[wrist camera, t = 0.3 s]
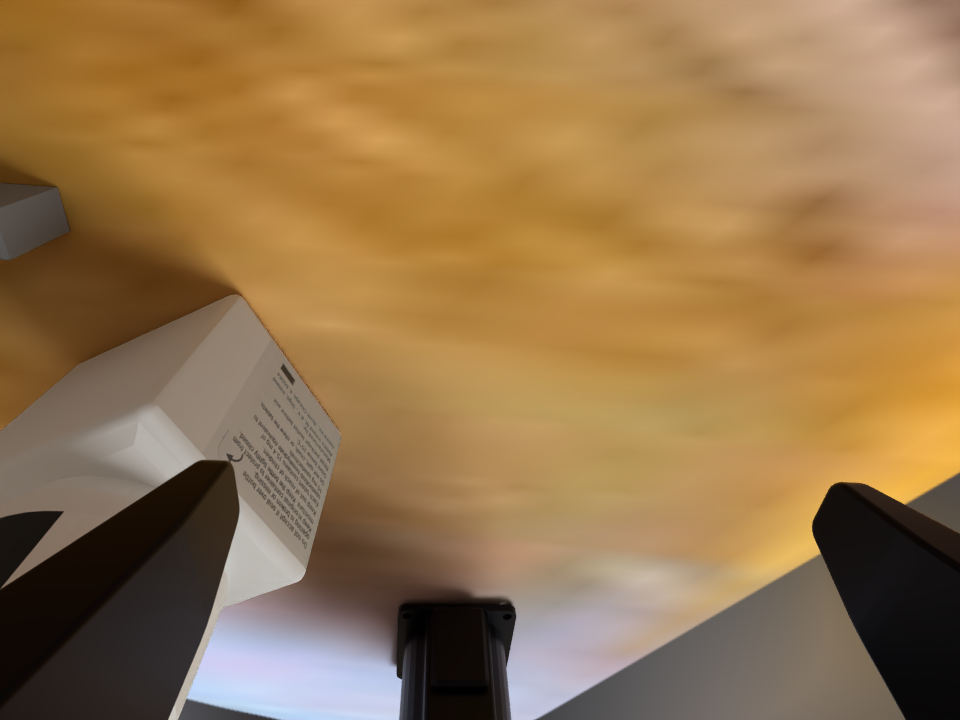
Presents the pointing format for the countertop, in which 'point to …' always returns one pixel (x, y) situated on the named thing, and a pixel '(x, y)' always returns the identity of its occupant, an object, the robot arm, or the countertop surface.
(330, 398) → the countertop surface
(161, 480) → the container
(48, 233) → the display bay
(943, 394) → the countertop surface
